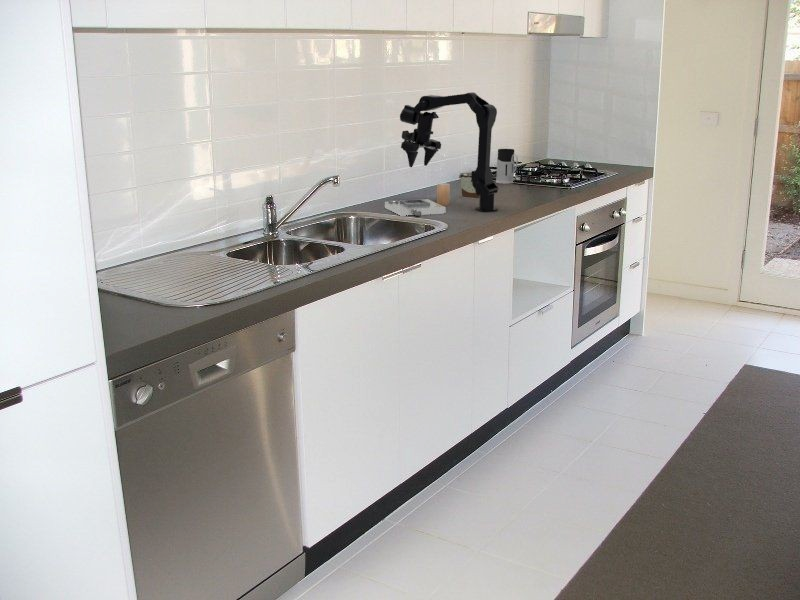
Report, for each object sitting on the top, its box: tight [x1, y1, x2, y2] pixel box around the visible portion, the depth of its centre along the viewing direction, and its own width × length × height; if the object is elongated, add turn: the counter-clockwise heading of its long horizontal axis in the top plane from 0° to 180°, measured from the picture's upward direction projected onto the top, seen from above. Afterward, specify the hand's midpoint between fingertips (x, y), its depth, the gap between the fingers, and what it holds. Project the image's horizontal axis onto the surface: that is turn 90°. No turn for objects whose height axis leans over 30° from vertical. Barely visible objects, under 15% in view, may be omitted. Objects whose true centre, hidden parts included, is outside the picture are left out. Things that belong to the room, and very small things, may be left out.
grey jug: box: [495, 148, 519, 185], centre depth 405 cm, size 9×14×15 cm, turn 24°
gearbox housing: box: [384, 198, 447, 217], centre depth 337 cm, size 21×18×4 cm
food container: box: [458, 171, 479, 200], centre depth 368 cm, size 12×6×10 cm, turn 59°
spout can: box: [436, 182, 451, 206], centre depth 353 cm, size 7×5×8 cm
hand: (418, 166), depth 353 cm, fingers open, 9 cm apart
